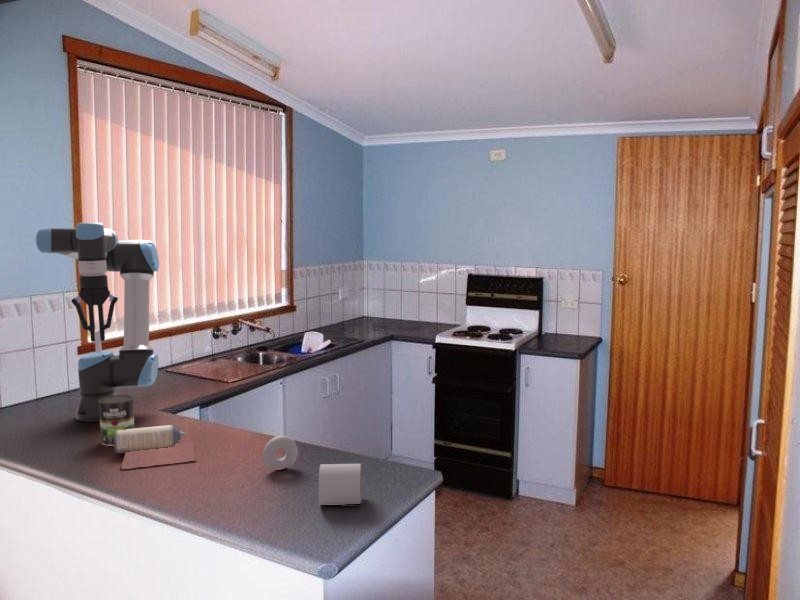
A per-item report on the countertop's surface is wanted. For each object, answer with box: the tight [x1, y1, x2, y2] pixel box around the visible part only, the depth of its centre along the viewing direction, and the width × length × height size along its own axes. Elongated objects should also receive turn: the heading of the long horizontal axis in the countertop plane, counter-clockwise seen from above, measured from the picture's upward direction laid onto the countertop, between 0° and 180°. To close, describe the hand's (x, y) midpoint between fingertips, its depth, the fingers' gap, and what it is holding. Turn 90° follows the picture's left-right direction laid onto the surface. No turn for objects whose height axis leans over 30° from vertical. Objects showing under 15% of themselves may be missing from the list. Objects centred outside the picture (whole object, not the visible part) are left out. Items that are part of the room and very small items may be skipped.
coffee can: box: [98, 394, 135, 445], centre depth 210 cm, size 10×10×14 cm
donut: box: [262, 435, 299, 468], centre depth 185 cm, size 10×4×10 cm, turn 116°
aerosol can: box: [114, 424, 186, 454], centre depth 201 cm, size 7×7×20 cm
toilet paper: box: [318, 463, 362, 506], centre depth 163 cm, size 10×10×10 cm
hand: (98, 351), depth 198 cm, fingers closed
